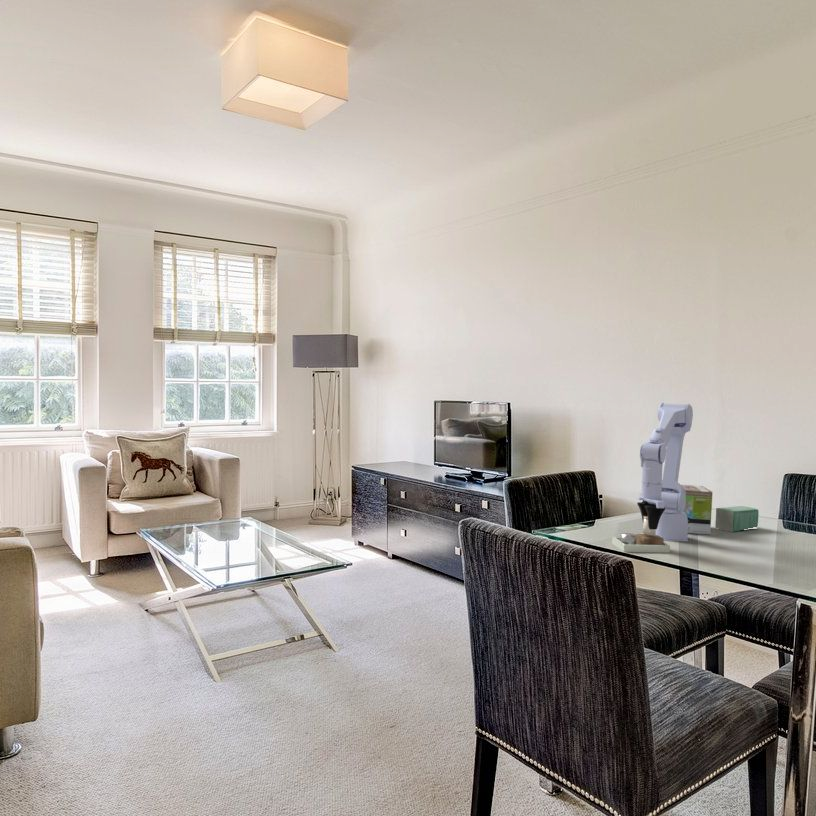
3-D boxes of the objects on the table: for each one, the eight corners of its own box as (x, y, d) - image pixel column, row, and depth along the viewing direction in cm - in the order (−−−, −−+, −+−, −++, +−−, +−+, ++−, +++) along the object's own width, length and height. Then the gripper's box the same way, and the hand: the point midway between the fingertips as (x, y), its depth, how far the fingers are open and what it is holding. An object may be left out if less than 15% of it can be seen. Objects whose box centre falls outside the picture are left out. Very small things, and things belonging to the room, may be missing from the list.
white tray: (655, 545, 211) (656, 537, 211) (669, 553, 200) (669, 545, 200) (612, 544, 210) (612, 537, 210) (623, 552, 200) (624, 545, 200)
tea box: (711, 535, 227) (713, 491, 226) (679, 533, 229) (681, 489, 228) (701, 526, 242) (703, 484, 241) (671, 524, 244) (673, 483, 243)
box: (758, 529, 238) (759, 508, 238) (733, 532, 232) (734, 511, 231) (739, 525, 245) (740, 504, 244) (714, 528, 238) (715, 507, 238)
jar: (640, 531, 207) (641, 515, 207) (653, 532, 207) (654, 515, 207) (645, 534, 203) (645, 518, 203) (657, 535, 203) (658, 518, 203)
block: (655, 545, 208) (655, 534, 208) (663, 550, 202) (663, 538, 202) (635, 545, 208) (636, 533, 208) (643, 550, 202) (643, 538, 202)
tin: (633, 545, 207) (633, 533, 207) (638, 549, 203) (638, 536, 203) (618, 545, 207) (619, 532, 207) (623, 549, 203) (624, 536, 203)
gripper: (629, 479, 212) (628, 522, 212) (648, 486, 197) (646, 532, 198) (652, 479, 212) (650, 522, 212) (671, 486, 197) (670, 533, 198)
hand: (650, 527), depth 205 cm, fingers closed on jar, 4 cm apart
